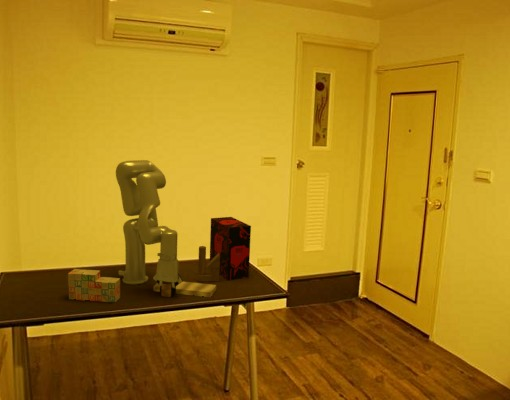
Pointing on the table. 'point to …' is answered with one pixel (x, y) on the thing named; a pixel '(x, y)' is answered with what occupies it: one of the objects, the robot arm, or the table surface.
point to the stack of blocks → (92, 286)
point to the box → (231, 246)
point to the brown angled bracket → (212, 264)
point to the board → (192, 289)
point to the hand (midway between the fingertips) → (167, 293)
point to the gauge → (166, 289)
